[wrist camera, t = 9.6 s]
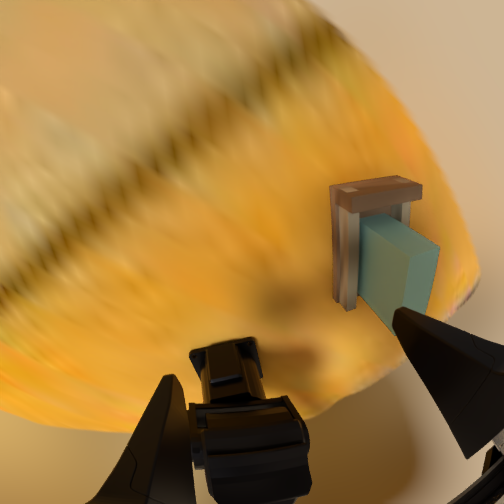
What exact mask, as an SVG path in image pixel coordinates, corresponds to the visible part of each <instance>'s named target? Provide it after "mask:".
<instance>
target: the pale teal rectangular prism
mask: <svg viewBox="0 0 504 504" xmlns="http://www.w3.org/2000/svg"><path fill="white" fill-rule="evenodd" d="M439 250H440V247H439V246H438V245H436V244H435V243H433V242H432V241H430V240H429V239H427V238H425V237H424V236H422V235H421V234H419V233H417V232H416V231H414V230H413V229H411V228H409V227H408V226H406V225H404V224H403V223H401V222H399V221H398V220H396V219H394V218H392V217H391V216H389V215H387V214H385V213H382V214H378V215H373V216H369V217H364V218H359V267H358V286H357V292H358V294H359V295H360V296H361V297H362V298H363V299H364V300H365V302H366V303H367V304H368V305H369V306H370V307H371V309H372V310H373V311H374V312H375V313H376V314H377V316H378V317H379V318H380V319H381V320H382V321H383V323H384V324H385V325H386V326H387V327H388V329H389V330H390V331H391V332H392V333H393V335H394V336H396V334H395V332H394V330H393V328H392V320H393V315H394V311H395V309H397V308H400V307H402V306H404V307H407V308H409V309H412V310H414V311H417V312H419V313H421V314H424V315H425V312H426V308H427V305H428V301H429V297H430V293H431V289H432V285H433V280H434V276H435V271H436V266H437V261H438V256H439Z"/></svg>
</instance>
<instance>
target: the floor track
mask: <svg viewBox="0 0 504 504" xmlns="http://www.w3.org/2000/svg"><path fill="white" fill-rule="evenodd" d="M420 199H422V185H421V184H419V183H416V182H414V181H411V180H408V179H406V178H403V177H400V176H397V175H396V176H389V177H382V178H375V179H369V180H362V181H356V182H350V183H344V184H338V185H332V186H330V201H331V218H332V242H333V299H334V300H335V302H336V303H339V302H340V304H341V305H342V306H343V308H344V309H345V310H346V312H347V311H350V310H353V309H355V308H356V300H357V296H360V295H359V294H358V292H357V286H358V267H359V218H364V217H369V216H373V215H378V214H382V213H385V214H387V215H389V216H391V217H392V218H394V219H396V220H398V221H399V222H401V223H403V224H404V225H406V226H408V227H409V222H410V205H411V201H415V200H420Z"/></svg>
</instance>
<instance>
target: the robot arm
mask: <svg viewBox="0 0 504 504" xmlns="http://www.w3.org/2000/svg"><path fill="white" fill-rule="evenodd" d="M392 328H393V330H394V332H395V334H396V336H397V338H398V340H399V342H400V344H401V346H402V348H403V350H404V352H405V354H406V355H407V357H408V359H409V360H410V362H411V364H412V365H413V367H414V368H415V370H416V371H417V373H418V374H419V376H420V378H421V379H422V381H423V382H424V384H425V386H426V388H427V389H428V391H429V393H430V394H431V396H432V398H433V399H434V401H435V403H436V404H437V406H438V408H439V410H440V411H441V413H442V415H443V417H444V418H445V420H446V422H447V424H448V425H449V427H450V429H451V431H452V433H453V435H454V437H455V439H456V441H457V442H458V444H459V446H460V448H461V450H462V452H463V454H464V456H465V458H466V459H469V458H470V457H471V456H473V455H474V454H475V453H476V452H478V451H479V450H480V449H481V448H483V447H484V446H485V445H486V444H487V443H488V442H490V441H491V440H492V441H493V443H494V445H493V446H492V447H491V448H490V449H489V450H488V451H487V452H486V457H485V461H484V466H483V471H482V476H481V477H480V478H479V479H477V480H476V481H475V482H474V483H473V484H472V485H470V486H469V487H468V488H467V489H466V490H465V491H463V492H462V493H461V494H459V495H458V496H457V497H456V498H454V499H453V500H451V501H450V502H449V503H447V504H504V345H501V344H497V343H494V342H491V341H488V340H485V339H483V338H480V337H478V336H475V335H473V334H470V333H468V332H465V331H462V330H460V329H458V328H456V327H453V326H451V325H448V324H446V323H443V322H441V321H439V320H436V319H434V318H431V317H429V316H426V315H424V314H421V313H419V312H417V311H414V310H412V309H409V308H407V307H404V306H402V307H400V308H397V309H395V311H394V315H393V320H392ZM249 342H251V343H249ZM193 355H195V356H193ZM189 358H190V360H191V362H192V364H193V366H194V368H195V370H196V372H197V374H198V376H199V378H200V380H201V384H202V394H203V404H195V403H189V410H186V404H185V398H184V392H183V388H182V386H181V384H180V382H179V381H178V379H177V377H176V376H175V375H174V374H168V375H164V376H163V377H162V379H161V381H160V383H159V385H158V387H157V389H156V390H155V392H154V394H153V396H152V398H151V400H150V402H149V404H148V406H147V407H146V409H145V411H144V413H143V415H142V417H141V419H140V421H139V423H138V425H137V427H136V428H135V430H134V432H133V434H132V437H131V438H130V440H129V442H128V444H127V446H126V448H125V450H124V452H123V454H122V455H121V457H120V459H119V461H118V463H117V464H116V466H115V468H114V469H113V471H112V472H111V474H110V475H109V477H108V478H107V480H106V481H105V483H104V484H103V486H102V487H101V489H100V490H99V492H98V493H97V494H96V495H95V496H94V497H93V499H91V500H90V501H89V502H87V503H85V504H196V496H195V488H194V478H193V468H192V462H194V467H195V470H202V469H204V470H205V477H206V482H207V487H208V491H209V494H210V495H211V496H212V497H213V498H214V500H215V501H216V502H217V503H218V504H294V503H295V501H296V500H297V498H298V497H301V496H305V495H308V494H309V491H310V488H311V485H312V480H311V475H310V471H309V466H308V458H307V454H308V452H309V448H310V439H309V433H308V429H307V427H306V425H305V422H304V421H303V419H302V418H301V416H300V415H299V413H298V412H297V410H296V408H295V407H294V405H293V404H292V402H291V401H290V399H289V398H288V396H287V395H286V396H281V397H278V398H270V399H266V396H265V393H264V389H263V386H262V383H261V378H262V377H263V374H262V370H261V366H260V362H259V358H258V353H257V349H256V345H255V341H254V339H253V338H246V339H242V340H237V341H233V342H229V343H225V344H220V345H216V346H211V347H207V348H202V349H197V350H192V351H190V352H189Z"/></svg>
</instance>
